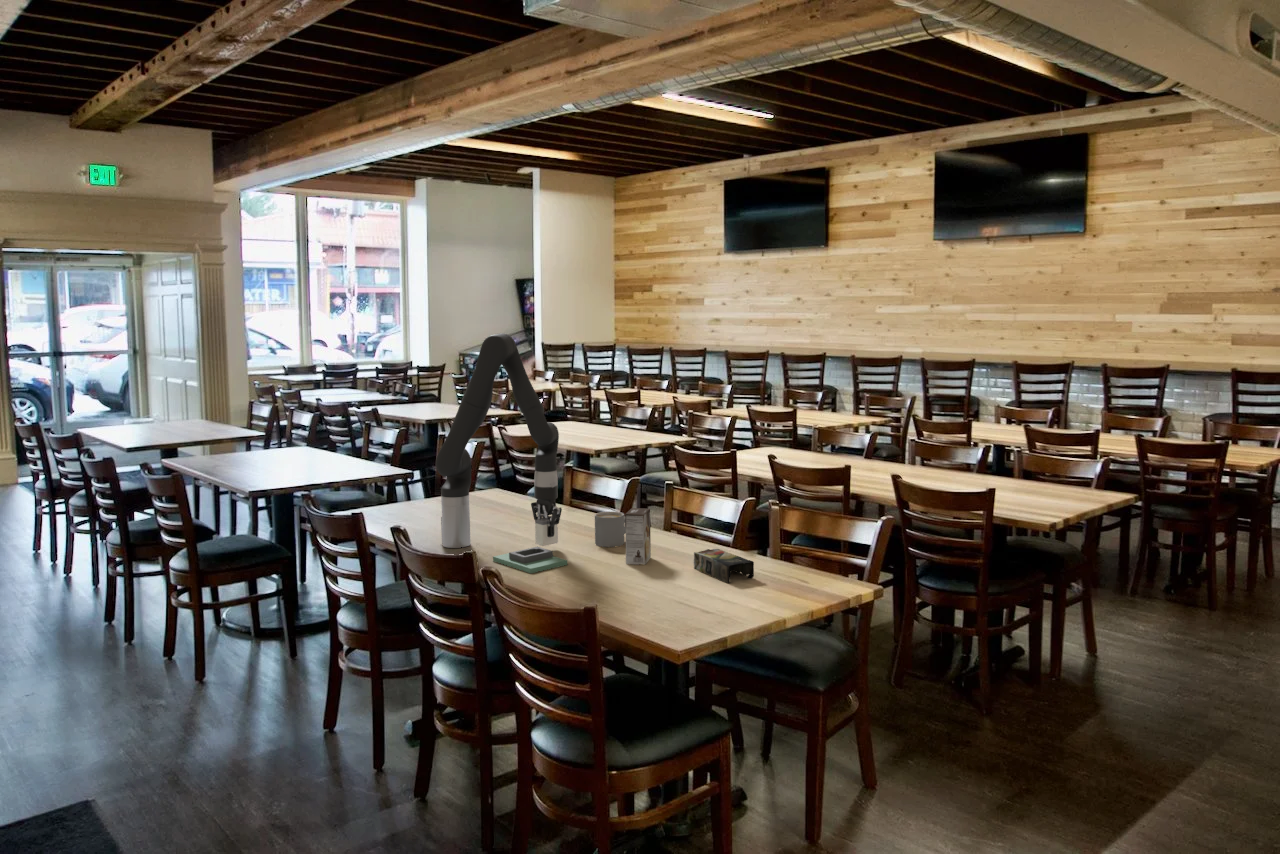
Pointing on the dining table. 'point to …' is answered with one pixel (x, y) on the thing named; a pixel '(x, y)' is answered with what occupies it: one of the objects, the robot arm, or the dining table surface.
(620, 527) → the coffee mug
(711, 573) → the juice carton
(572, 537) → the dining table surface
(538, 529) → the plug
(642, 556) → the coffee box
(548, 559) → the header board
